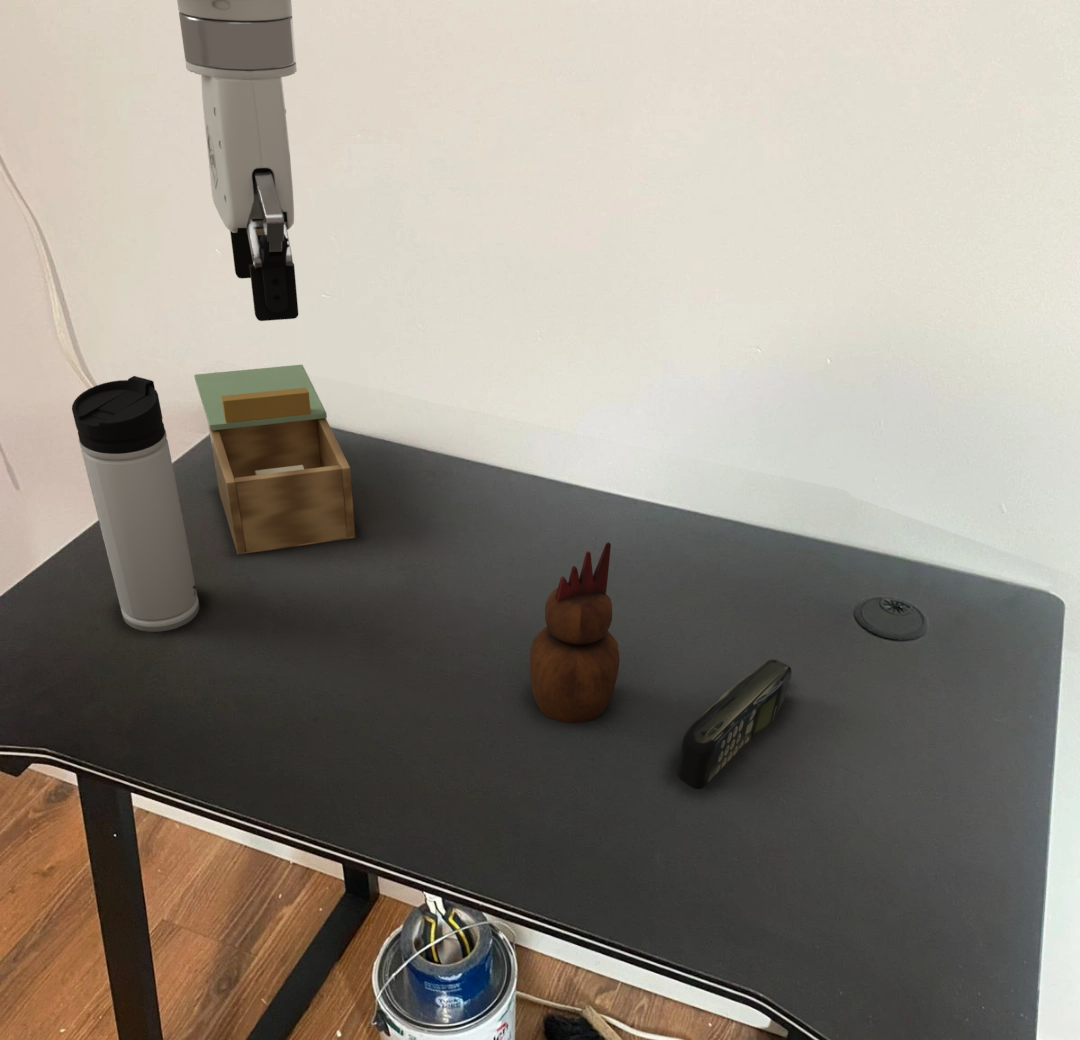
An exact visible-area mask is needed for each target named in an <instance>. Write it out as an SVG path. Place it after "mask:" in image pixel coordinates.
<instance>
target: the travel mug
mask: <svg viewBox="0 0 1080 1040" xmlns="http://www.w3.org/2000/svg"><path fill="white" fill-rule="evenodd" d="M71 411H72V415H73V420H74V424H75V427H76V430H77V436H78V443H79V446H80V449H81V450H80V451H81V455H82V459H83V463H84V467H85V471H86V475H87V479H88V484H89V487H90V491H91V495H92V499H93V503H94V507H95V512H96V515H97V519H98V523H99V527H100V530H101V535H102V539H103V543H104V546H105V551H106V555H107V559H108V562H109V566H110V567H109V568H110V571H111V575H112V579H113V583H114V587H115V591H116V595H117V599H118V603H119V607H120V611H121V615H122V618H123V621H124V622H125V624H127V625H128V626H129V627H130V628H133V629H135V630H138V631H142V632H150V633H154V632H155V633H156V632H159V633H160V632H166V631H171V630H174V629H175V630H176V629H178V628H180V627H183V626H184V625H187V624H188V623H190V622H191V621H192V620H193V619H194V618H195V617H196V616H197V615H198V613H199V612H200V611H199V610H200V602H199V597H198V592H197V591H198V590H197V586H196V581H195V575H194V569H193V566H192V560H191V555H190V550H189V549H190V548H189V543H188V539H187V534H186V530H185V523H184V519H183V513H182V508H181V503H180V498H179V493H178V487H177V482H176V476H175V471H174V467H173V462H172V456H171V451H170V446H169V441H168V437H167V436H168V435H167V431H166V428H165V424H164V421H163V413H162V408H161V403H160V398H159V393H158V391H157V390H156V388H155V382H154V380H153V379H147V378H143V377H140V376H136V375H133V376H131V377H129V378H128V379H123V380H122V379H121V380H111V381H107V382H103V383H100V384H97V385H95V386H92V387H90V388H88V389H86V390H85V391H83V392H82V393H80V394H79V395H78V396H77V397H76V398H75V399H74V400H73V403H72V405H71Z"/></svg>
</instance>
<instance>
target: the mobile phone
mask: <svg viewBox="0 0 1080 1040" xmlns="http://www.w3.org/2000/svg"><path fill="white" fill-rule="evenodd" d="M792 673H793V671H792V667H791V666H789V665H788V664H786V663H784V662H782V661H780V660H778V659H773V658H772V659H769V660H766V661H764V663H762V664H761V665H760V666H759V667H758V668H756V669H755V670H754V671H751V672H750V673H749V674H747V675H745V676H743V677H741V678H739V679H738V680H737V681H736V682H735V683H734V684H733V685H732V686H731V687H730V688H729V689H727V690H726V691H725V692H724V693H722V695H721V696H720V698H719V699H717V701H716V702H715V703H714V704H712V705H711V706H710V707H708V709H706V710H705V711H704V712H703V713H702V714H701V715H700V717H698V718H697V719H696V721H694V722H693V724H692V725H691V726H690V727H689V728H688V729H687V731H686V732H685V734H684V737H683V739H682V742H681V747H680V750H679V751H680V752H679V756H678V761H677V767H676V775H677V777H678V778H679V780H681V782H683V783H685V784H686V785H687V786H689V787H690V788H692V789H694V790H701V789H703V788H705V787H706V786H707V785H708V784H709V782H711V781H712V779H713V777H715V776H716V775H717V774H718V773H719V772H720V770H722V769H723V767H724V766H725V765H727V764H728V763H729V761H730V760H731V759H732V758H733V757H734V756H735V755H736V754H737V753H738V752H739V751H740V750H741V749H742V748H743V747H744V746H745V745H746V744H747V743H749V742H750V741H751V740H752V739H754V738H755V737H756V736H758V735H760V734H761V733H762V732H763V731H765V730H766V729H767V728H768V727H769V726H770V725H771V724H772V723H773V721H774V720H775V719H776V716H777V714H778V713H779V711H780V709H781V707H782V706H783V704H784V701H785V698H786V695H787V692H788V689H789V685H790V682H791V679H792Z"/></svg>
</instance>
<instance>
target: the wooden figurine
mask: <svg viewBox="0 0 1080 1040" xmlns="http://www.w3.org/2000/svg"><path fill="white" fill-rule="evenodd" d="M611 547H612V544H611V542H606V543H605V544H604V547H603V549H602V552H601V555H600V557H599V559H598V562H597V564H596V567H595V569H594V572H593V562H592V554H591V552H590V551H586V552H585V555H584V557H583V559H584V560H583V562H582V567H581V570H580V574H579V569H578V567H577V566H576V565H573V566H572V567H571V570H570V574H569V578H568V581H567V579H566V577H565V576H561V577H560V579H559V583H558V586H557V588H556V589H554V590H553V591H552V592H551V593H550V594H549V595H548V597H547V599H546V600H545V606H544V619H545V620H544V621H545V625H546V626H544V627H543V628H542V629H541V630H540V631H539V632H538V633H537V634H536V636H535V637H534V638H533V639H532V643H531V646H530V648H529V649H530V650H529V680H530V685H531V691H532V694H533V698H534V701H535V703H536V704H537V707H538V708H539V710H540V712H541V714H543V715H544V716H546V718H548V719H550V720H553V721H557V722H559V723H568V724H579V723H586V722H590V721H594V720H595V719H596V718H598V717H599V716H601V715H602V713H603V712H604V711H605V710H606V708H607V707H608V705H609V703H610V702H611V699H612V697H613V694H614V690H615V687H616V684H617V679H618V675H619V668H620V652H619V643H618V641H617V640H616V638H615V637H614V636H613V635H612V633H611V632H610V631H609V629H610V627H611V624H612V621H613V603H612V599H611V597H610V596H609V595H607V587H608V582H609V581H608V578H609V569H610V559H611Z"/></svg>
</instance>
